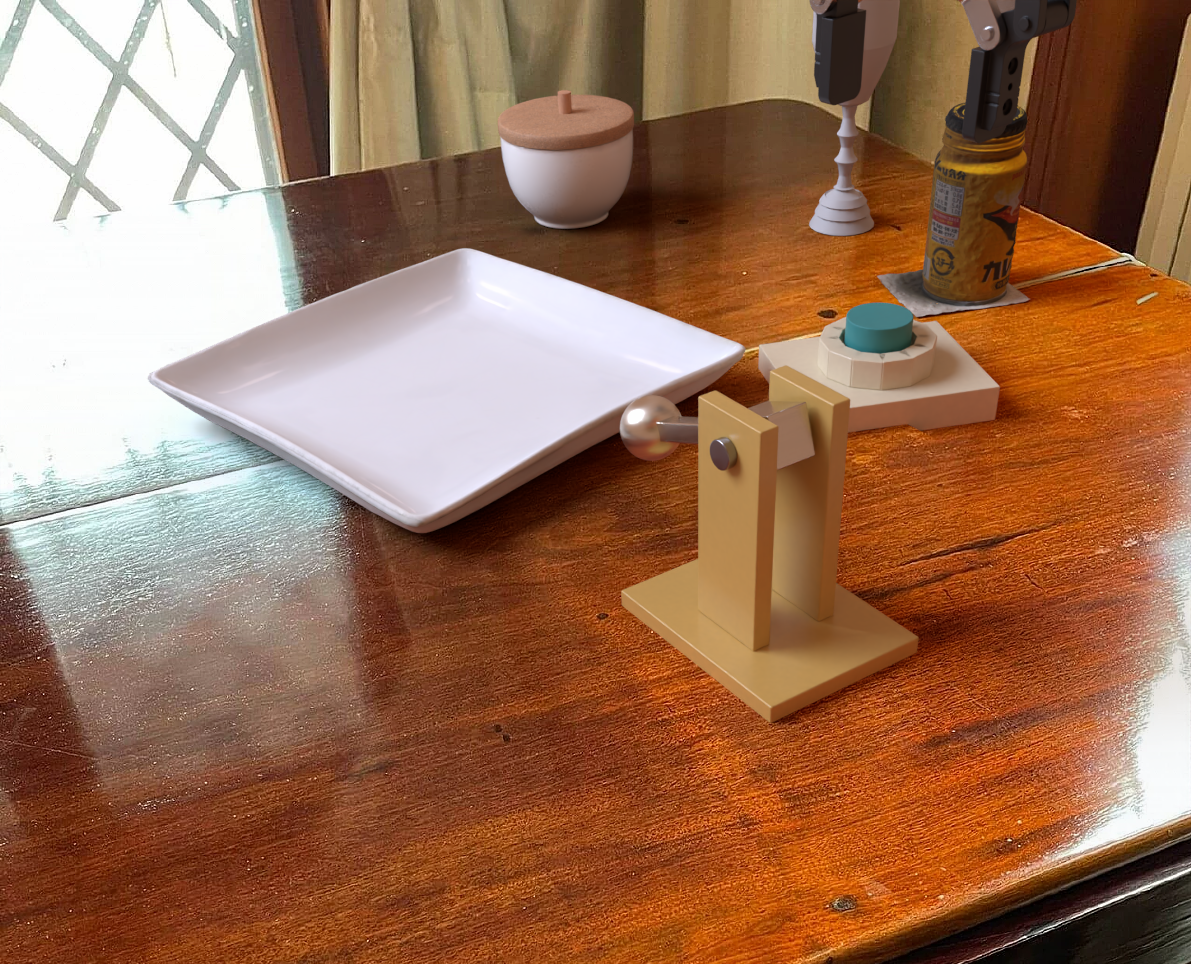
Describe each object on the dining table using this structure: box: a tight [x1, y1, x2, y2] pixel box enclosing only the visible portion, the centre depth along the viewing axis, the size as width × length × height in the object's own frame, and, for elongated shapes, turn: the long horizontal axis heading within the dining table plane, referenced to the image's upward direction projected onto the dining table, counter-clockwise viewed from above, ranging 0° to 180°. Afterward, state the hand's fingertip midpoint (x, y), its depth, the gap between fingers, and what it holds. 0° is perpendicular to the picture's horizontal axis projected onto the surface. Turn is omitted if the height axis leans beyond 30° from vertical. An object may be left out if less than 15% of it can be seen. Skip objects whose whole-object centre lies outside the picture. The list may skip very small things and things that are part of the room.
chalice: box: [808, 0, 901, 237], centre depth 105 cm, size 7×7×18 cm
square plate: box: [147, 247, 747, 534], centre depth 88 cm, size 27×27×4 cm
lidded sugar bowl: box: [497, 89, 635, 230], centre depth 112 cm, size 11×11×9 cm
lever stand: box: [620, 365, 919, 724], centre depth 65 cm, size 12×9×13 cm
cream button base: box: [757, 316, 1001, 433], centre depth 87 cm, size 12×10×4 cm
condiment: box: [876, 101, 1031, 318], centre depth 96 cm, size 7×8×12 cm
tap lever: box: [619, 395, 815, 470], centre depth 67 cm, size 13×3×3 cm, turn 34°
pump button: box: [845, 302, 915, 354], centre depth 85 cm, size 4×4×2 cm
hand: (907, 118), depth 64 cm, fingers open, 8 cm apart
